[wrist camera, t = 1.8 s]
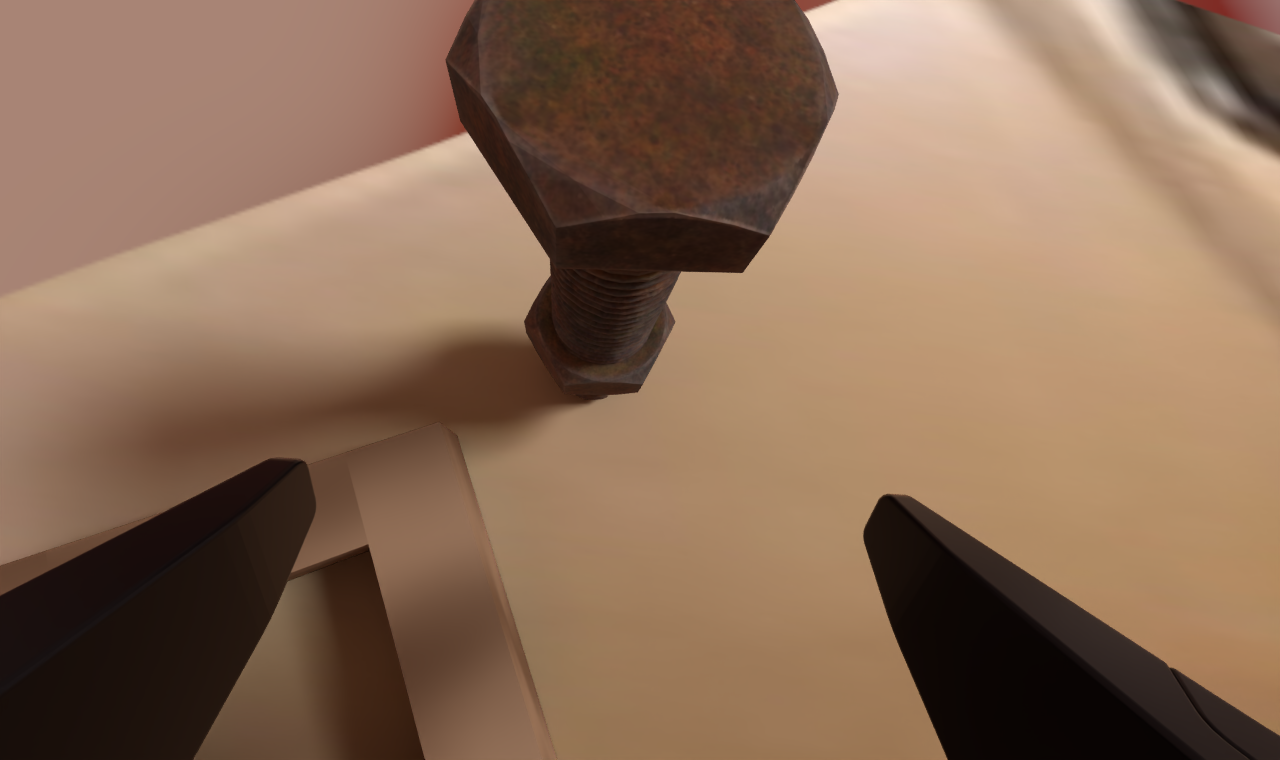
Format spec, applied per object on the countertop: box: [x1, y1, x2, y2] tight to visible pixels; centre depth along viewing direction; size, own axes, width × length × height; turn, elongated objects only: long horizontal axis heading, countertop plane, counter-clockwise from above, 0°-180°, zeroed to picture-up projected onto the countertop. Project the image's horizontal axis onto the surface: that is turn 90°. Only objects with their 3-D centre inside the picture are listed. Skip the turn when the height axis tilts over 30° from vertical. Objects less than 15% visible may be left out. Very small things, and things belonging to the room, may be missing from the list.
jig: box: [0, 422, 557, 760], centre depth 15 cm, size 14×14×3 cm
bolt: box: [446, 0, 839, 400], centre depth 14 cm, size 6×5×15 cm
